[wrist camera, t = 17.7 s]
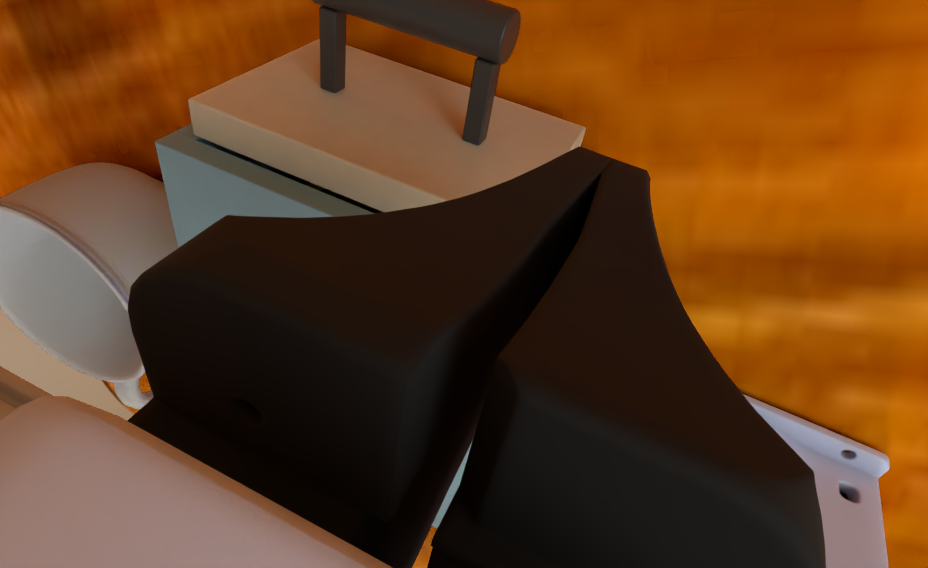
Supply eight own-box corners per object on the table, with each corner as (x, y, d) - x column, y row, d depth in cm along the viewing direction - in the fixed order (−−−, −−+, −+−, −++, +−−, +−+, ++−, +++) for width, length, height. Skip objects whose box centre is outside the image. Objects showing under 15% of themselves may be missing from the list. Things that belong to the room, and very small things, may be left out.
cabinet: (323, 55, 23) (153, 140, 17) (599, 152, 21) (516, 292, 15) (325, 299, 32) (214, 411, 26) (518, 386, 30) (445, 533, 24)
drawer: (321, -85, 19) (160, -52, 14) (626, 4, 17) (557, 79, 12) (324, 282, 30) (233, 371, 25) (510, 365, 28) (449, 480, 23)
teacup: (69, 124, 33) (-84, 188, 27) (219, 157, 29) (79, 239, 24) (154, 312, 41) (51, 391, 36) (278, 355, 38) (186, 451, 32)
